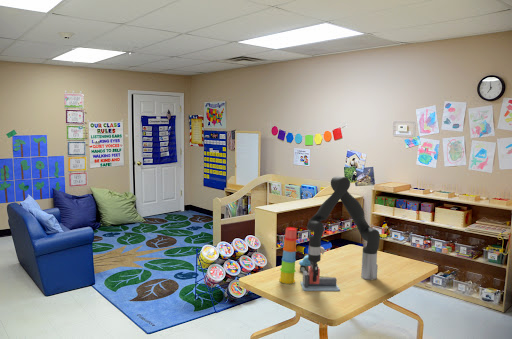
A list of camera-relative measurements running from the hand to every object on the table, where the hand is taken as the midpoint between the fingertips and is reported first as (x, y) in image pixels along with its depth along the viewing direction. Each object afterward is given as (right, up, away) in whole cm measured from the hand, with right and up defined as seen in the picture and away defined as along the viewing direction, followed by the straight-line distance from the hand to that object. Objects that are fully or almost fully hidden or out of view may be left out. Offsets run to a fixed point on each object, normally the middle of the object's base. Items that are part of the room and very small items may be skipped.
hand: (313, 279), depth 244 cm
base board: (+4, -5, +1) cm, 6 cm away
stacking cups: (-16, -4, +9) cm, 18 cm away
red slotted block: (0, -2, 0) cm, 2 cm away
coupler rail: (+4, -5, +1) cm, 6 cm away
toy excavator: (+2, -2, +28) cm, 29 cm away
